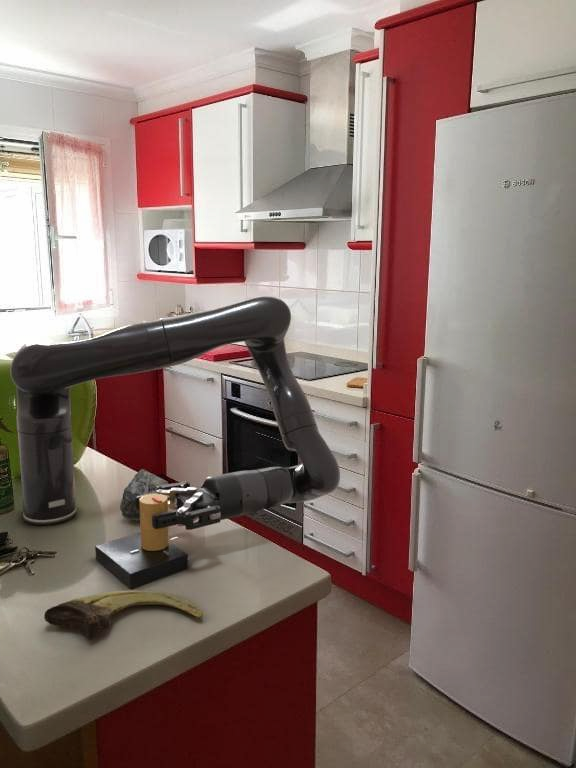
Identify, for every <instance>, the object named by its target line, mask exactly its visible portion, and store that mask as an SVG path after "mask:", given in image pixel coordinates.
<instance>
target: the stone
mask: <svg viewBox="0 0 576 768" xmlns="http://www.w3.org/2000/svg"><path fill="white" fill-rule="evenodd" d="M167 484H170V483H169V482H168V480H165V479H164V478H161V477H159V476H157V475H155V474H153V473H151V472H149V471H147V470H146V469H143V468H141V469H139V471H138V472H137V473H136V474H135V475H134V476H133V478H132V480H131V481H130V483H128V485H127V486H126V487H125V488H124V489H123V493H122V498H121V500H120V505H119V509H120V511H121V512H122V513H121V516H122V517H124V519H128V520H132V521H140V510H137V509H136V507H135V497H136V496H140V495H145V494H151V493H156V491H157V486H161V485H167ZM168 490H170V489H168Z"/></svg>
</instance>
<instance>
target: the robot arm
mask: <svg viewBox="0 0 576 768" xmlns="http://www.w3.org/2000/svg"><path fill="white" fill-rule="evenodd" d="M291 322H292V312H291V309H290V307H289V306H288V304H287V303H286V302H285V301H284V300H283V299H281V298H279V297H276V296H273V295H258V296H254V297H251V298H248V299H244V300H241V301H237V302H234V303H231V304H227V305H225V306H221V307H217V308H213V309H207V310H200V311H195V312H189V313H184V314H178V315H173V316H166V317H161V318H160V317H159V318H154V319H149V320H145V321H144V320H143V321H140V322H136V323H132V324H129V325H126V326H123V327H120V328H117V329H114V330H111V331H109V332H106V333H104V334H100V335H99V336H96V337H92V338H89V339H84V340H77V341H70V342H61V343H57V342H54V341H52V340H49V339H44V338H38V339H33V340H30V341H27V342H26V343H24V344H23V345H22V346H21V347H20V348H19V349H18V351H17V352H16V353H15V355H14V357H13V358H12V360H11V364H10V371H9V372H10V378H11V380H12V382H13V384H14V385H15V386H16V399H17V401H16V402H17V403H16V405H17V406H16V429H17V439H18V452H19V464H20V465H19V467H20V478H21V479H20V480H21V493H22V505H23V506H22V507H23V508H22V509H23V513H22V515H23V520H24V522H26V523H28V524H31V525H37V526H47V525H49V526H50V525H56V524H59V523H63V522H66V521H68V520H71V519H72V518H73V517H75V516H76V515H77V511H78V510H77V505H76V503H77V502H76V485H75V484H76V483H75V469H74V468H75V467H74V451H73V433H72V412H71V411H72V410H71V409H72V406H71V405H72V404H71V402H72V401H71V387H75V386H78V385H82V384H84V383H87V382H92V381H96V380H101V379H105V378H106V379H107V378H115V377H119V376H127V375H128V376H129V375H134V374H140V373H146V372H151V371H156V370H161V369H166V368H171V367H174V366H175V367H176V366H178V365H181V364H184V363H187V362H189V361H192V360H194V359H196V358H199V357H200V356H203V355H205V354H206V353H209V352H211V351H213V350H215V349H219V348H220V347H224V346H227V345H231V344H236V343H237V344H238V343H242V342H243V343H244V344H245V346H246V348H247V351H248V352H249V354H250V356H251V357H252V360H253V361H254V363H255V365H256V367H257V370H258V372H259V374H260V377H261V378H262V382H263V384H264V386H265V390H266V392H267V395H268V398H269V401H270V405H271V408H272V410H273V411H272V412H273V414H274V417H275V419H276V420H275V421H276V424H277V426H278V430H279V432H280V437H281V439H282V442H283V445H284V447H285V448H286V450H288V451H290V452H296V454H297V455H298V458H299V459H300V461H301V463H300V464H297V465H293V466H288V467H282V466H270V467H263V468H257V469H250V470H248V469H247V470H238V471H233V472H227V473H223V474H216V475H212V476H208V477H206V478H205V479H204V481H203V484H202V485H201V486H200V487H195V486H191V482H190V481H181V482H174V483H169V484H167V485H161V486H157V491H156V493H151V494H163V495H165V496H167V498H168V508H169V509H170V510H168V512H163V513H158V514H154V515H153V516H152V526H153V527H154V529H160V528H164V527H168V528H169V527H174V526H177V527H185V530H187V531H191V530H195V529H196V530H197V529H199V528H200V529H201V528H204V527H207V526H212V525H215V524H219V523H221V521H223V520H228V519H231V518H232V519H233V518H236V517H241V516H247V515H250V514H254V513H257V512H259V511H262V510H267V509H271V508H276V507H279V506H283V505H285V504H295V503H296V504H297V503H303V502H309V501H313V500H316V499H319V498H321V497H323V496H326V495H329V494H331V493H333V492H334V491H336V489H338V487H339V485H340V480H341V471H340V466H339V463H338V461H337V459H336V457H335V455H334V453H333V452H332V450H331V449H330V447H329V445H328V443H327V442H326V440H325V439H324V438H323V436H322V435H321V433H320V430H319V428H318V424H317V421H316V419H315V416H314V413H313V410H312V406H311V405H310V402H309V399H308V398H307V395H306V393H305V392H304V390H303V388H302V387H301V384H300V383H299V381H298V380H297V378H296V376H295V374H294V372H293V369H292V367H291V365H290V362H289V359H288V354H287V350H286V349H287V348H286V345H285V344H286V343H285V337H286V334H287V332H288V330H289V329H290V326H291ZM168 489H169V490H168ZM145 495H148V494H145ZM145 495H140V496H136V497H135V507H136V509H137V510H140V503H139V500H140V498H141V497H142V496H145Z"/></svg>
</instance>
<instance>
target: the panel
mask: <svg viewBox="0 0 576 768" xmlns="http://www.w3.org/2000/svg"><path fill="white" fill-rule="evenodd" d="M178 539H179V537H178V536H175V537H172V538H170V539H169V544H168V546H167V547H166V548H164V549H162V550H158V551H147V550H144V549H143V548H142V547H141V531H139V532H136V533H133V534H129V535H126V536H122V537H119V538H117V539H114V540H110V541H106V542H103V543H99V544H96V545H95V546H94V547H95V548H94V549H95V551H94V552H95V561H97V562H98V563H99V564H100V565H102V566H103V567H104V568H105V569H106V570H107V571H109V572H110V573H111V574H112V575H113V576H114V577H115V578H117V580H119V581H120V582H122V584H124V585H125V586H126V587H127V588H128V589H130V590H134V589H136V588H138V587H141V586H144V585H146V584H150V583H153V582H155V581H158V580H160V579H163V578H166V577H168V576H171V575H174V574H177V573H179V572H182V571H185V570H188V569H189V553H187V552H185V551H184V550H182V549H181V548H180V547H178V546H177V545H175V544H173V543H172V542H171V541H174V540H178Z"/></svg>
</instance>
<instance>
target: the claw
mask: <svg viewBox="0 0 576 768" xmlns="http://www.w3.org/2000/svg"><path fill="white" fill-rule="evenodd" d="M139 605H164V606H169V607H173V608H174V609H175V608H176V609H179V610H181V611H183V612H186V613H187V614H190V615H192V616H194V617H196V618H198V619H201V618H203V616H204V614H203V612H202V611H201V609H200V608H199V607H198V606H197V605H196V604H194V603H193V602H191V601H190V600H189V599H187V598H185V597H182V596H178V595H177V594H172V593H169V592H165V591H157V590H139V589H130V590H117V591H108V592H100V593H95V594H92V595H87V596H82V597H78V598H74V599H71V600H67V601H64V602H62V603H59V604H57V605H55V606H52V607H49V608H48V609H47V610H46V611H45V612H44V618H43V619H44V621H45V622H46V623H48V624H49V625H52V626H56V627H61V628H62V627H63V628H69V629H74V630H77V631H79V632H81V633H83V634H84V635H86V636H87V639H88V640H94V639H95V638H96V637H97V635H98V634H99V632H103V631H104V632H105V631H107V630H109V628H110V626H111V621H112V615H115V613H118V612H120V611H121V610H124V609H126V608H128V607H132V606H139Z"/></svg>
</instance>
